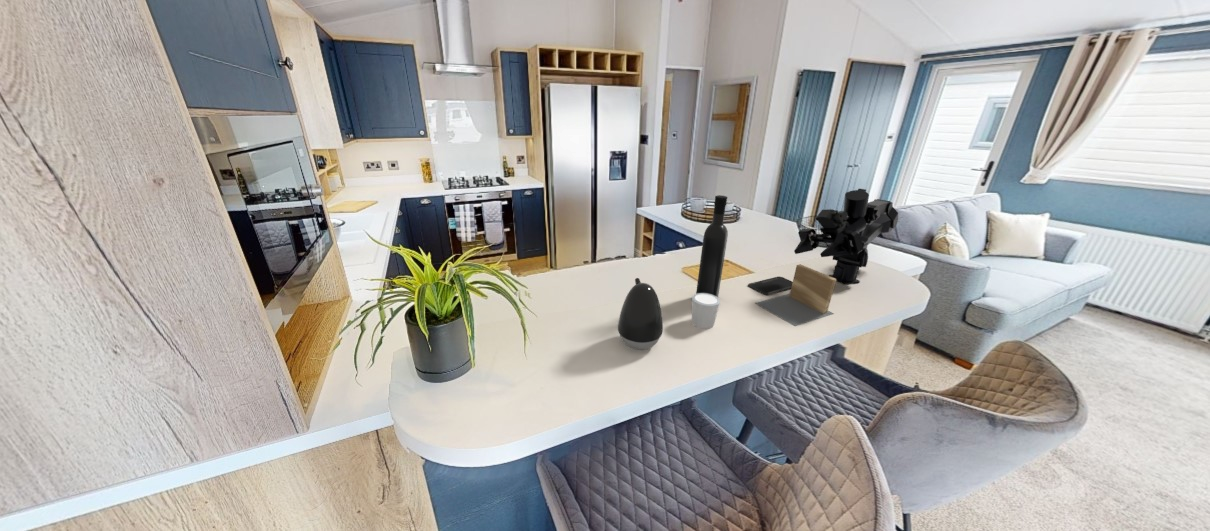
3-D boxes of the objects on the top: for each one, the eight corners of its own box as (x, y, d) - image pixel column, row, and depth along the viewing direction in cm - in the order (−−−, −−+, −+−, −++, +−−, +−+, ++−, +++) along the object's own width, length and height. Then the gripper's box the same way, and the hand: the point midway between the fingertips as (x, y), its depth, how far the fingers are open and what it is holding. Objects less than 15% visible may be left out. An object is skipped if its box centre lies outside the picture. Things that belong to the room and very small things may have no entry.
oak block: (792, 295, 114) (800, 264, 110) (827, 312, 105) (836, 279, 101) (789, 296, 113) (796, 265, 109) (823, 313, 104) (832, 280, 100)
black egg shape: (653, 329, 95) (658, 273, 89) (667, 354, 86) (673, 293, 80) (613, 332, 93) (615, 275, 88) (622, 358, 84) (625, 295, 78)
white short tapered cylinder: (683, 322, 98) (686, 298, 96) (697, 313, 103) (701, 290, 100) (708, 333, 94) (711, 308, 91) (721, 323, 99) (725, 298, 96)
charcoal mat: (791, 293, 115) (792, 293, 115) (834, 314, 104) (834, 313, 104) (754, 303, 109) (754, 302, 109) (794, 327, 98) (795, 326, 98)
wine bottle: (694, 302, 109) (707, 197, 97) (698, 294, 114) (712, 193, 102) (714, 307, 107) (731, 199, 95) (718, 298, 111) (734, 195, 100)
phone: (800, 285, 119) (766, 294, 113) (800, 288, 120) (766, 297, 113) (779, 275, 126) (746, 283, 119) (779, 278, 126) (745, 287, 120)
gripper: (812, 204, 120) (774, 227, 117) (869, 203, 103) (827, 229, 99) (822, 236, 123) (786, 259, 120) (879, 240, 106) (839, 267, 102)
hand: (807, 253), depth 110 cm, fingers open, 9 cm apart
